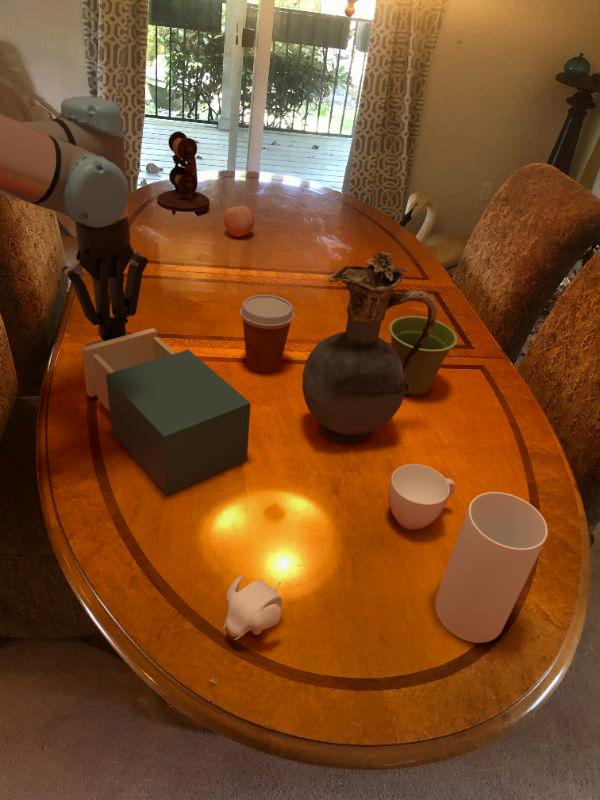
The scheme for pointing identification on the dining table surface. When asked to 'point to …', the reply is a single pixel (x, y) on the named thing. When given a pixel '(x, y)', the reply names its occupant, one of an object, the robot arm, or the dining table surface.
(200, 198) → the brown mechanical sculpture
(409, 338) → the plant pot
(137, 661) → the dining table surface
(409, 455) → the dining table surface
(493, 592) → the cup
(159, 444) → the cabinet
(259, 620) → the elephant figurine
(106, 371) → the drawer
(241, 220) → the apple
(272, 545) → the dining table surface
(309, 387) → the pitcher
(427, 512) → the cup
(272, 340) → the disposable coffee cup
